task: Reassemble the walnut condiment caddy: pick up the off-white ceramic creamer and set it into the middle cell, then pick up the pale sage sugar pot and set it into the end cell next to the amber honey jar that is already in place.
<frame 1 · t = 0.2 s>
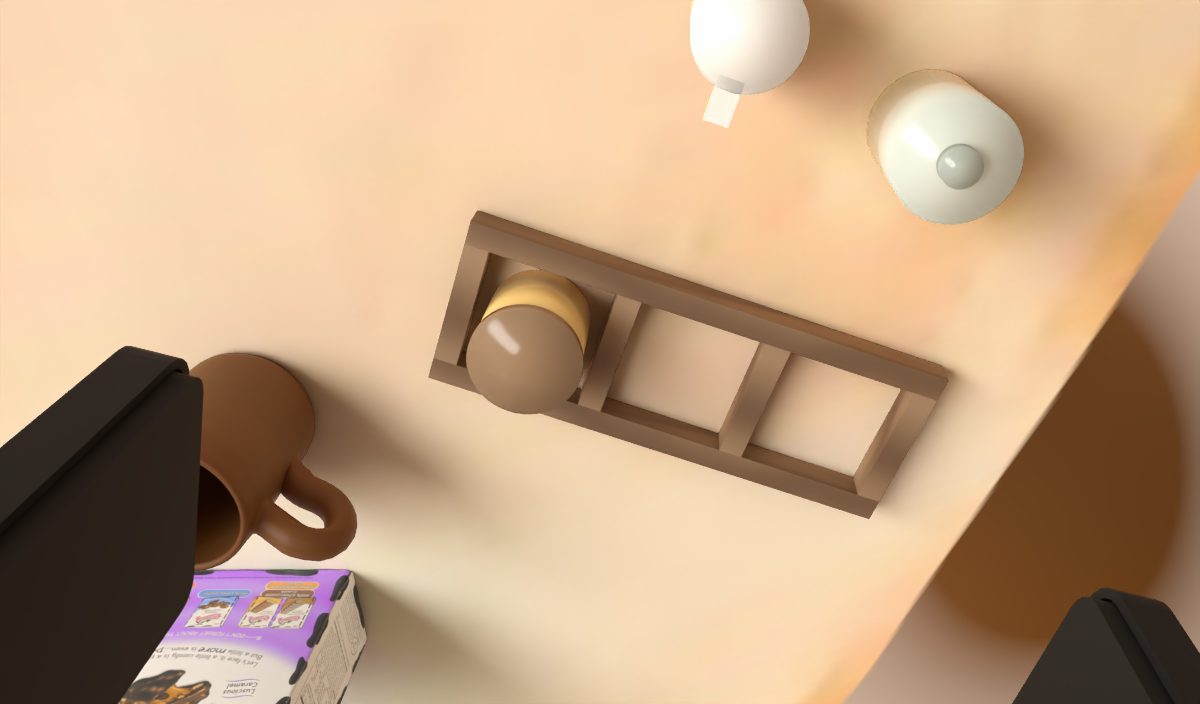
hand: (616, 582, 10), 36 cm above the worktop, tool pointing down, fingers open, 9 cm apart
honey jar: (539, 317, 49), resting in caddy
mug: (291, 420, 53), on the worktop
candy box: (256, 601, 59), on the worktop
sugar pot: (923, 126, 43), on the worktop
caddy: (682, 364, 49), on the worktop
creamer: (741, 11, 41), on the worktop
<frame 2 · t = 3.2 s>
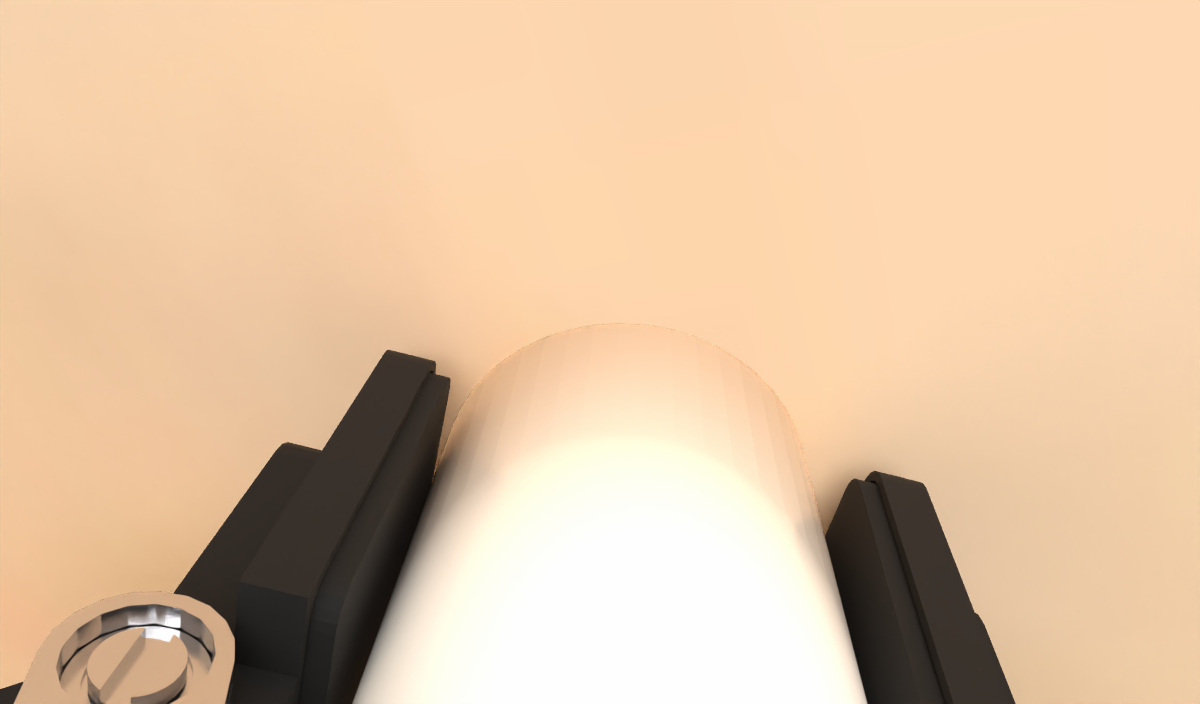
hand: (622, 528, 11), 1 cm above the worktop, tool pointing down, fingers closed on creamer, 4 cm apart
creamer: (623, 486, 12), on the worktop, touching gripper
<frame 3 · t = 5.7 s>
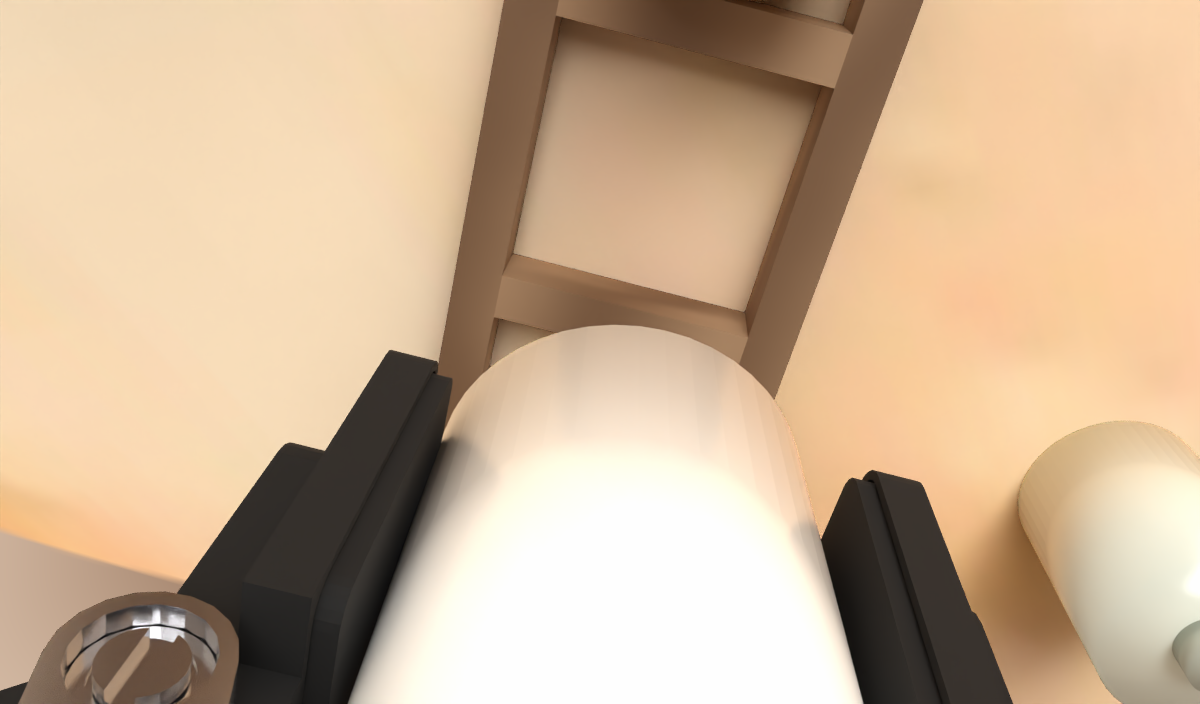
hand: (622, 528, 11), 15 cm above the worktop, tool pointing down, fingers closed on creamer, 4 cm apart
sugar pot: (1108, 495, 28), on the worktop
caddy: (660, 169, 24), on the worktop
creamer: (617, 488, 12), point 14 cm above the worktop, touching gripper
when the fingers open (2 cm above the worktop, at t = 8.3 s): creamer drops 2 cm, resting in caddy.
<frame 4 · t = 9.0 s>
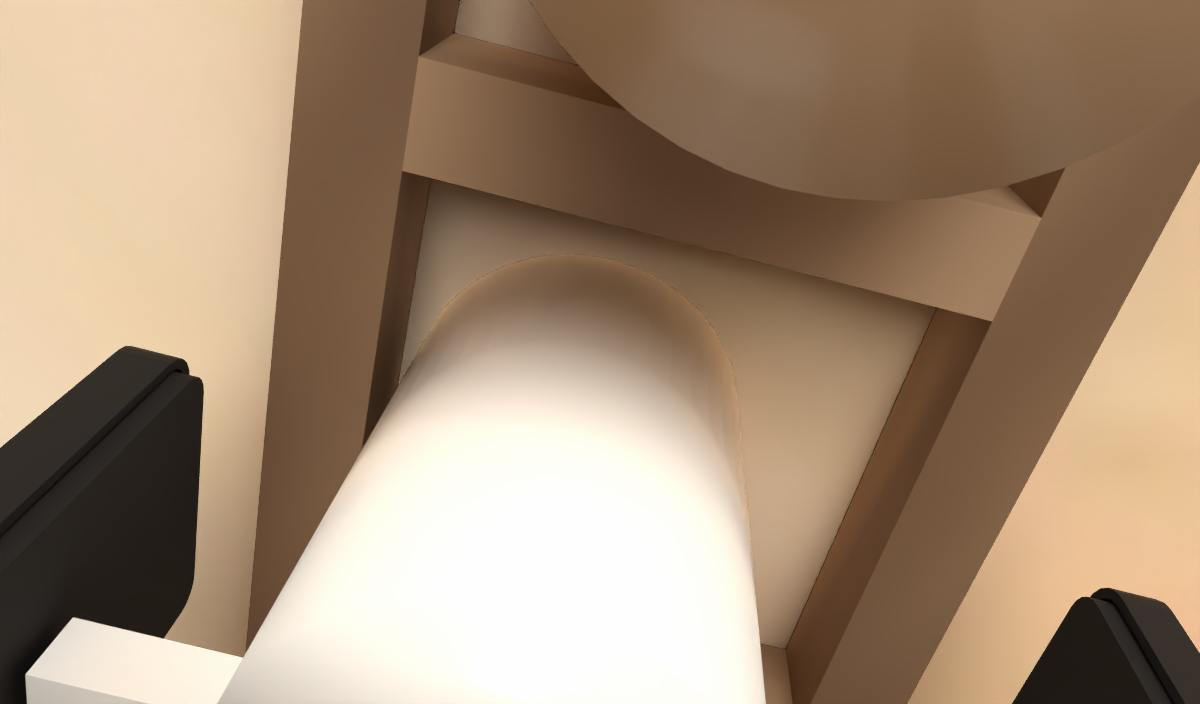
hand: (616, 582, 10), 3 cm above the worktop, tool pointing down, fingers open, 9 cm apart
caddy: (632, 423, 13), on the worktop
creamer: (574, 405, 13), resting in caddy
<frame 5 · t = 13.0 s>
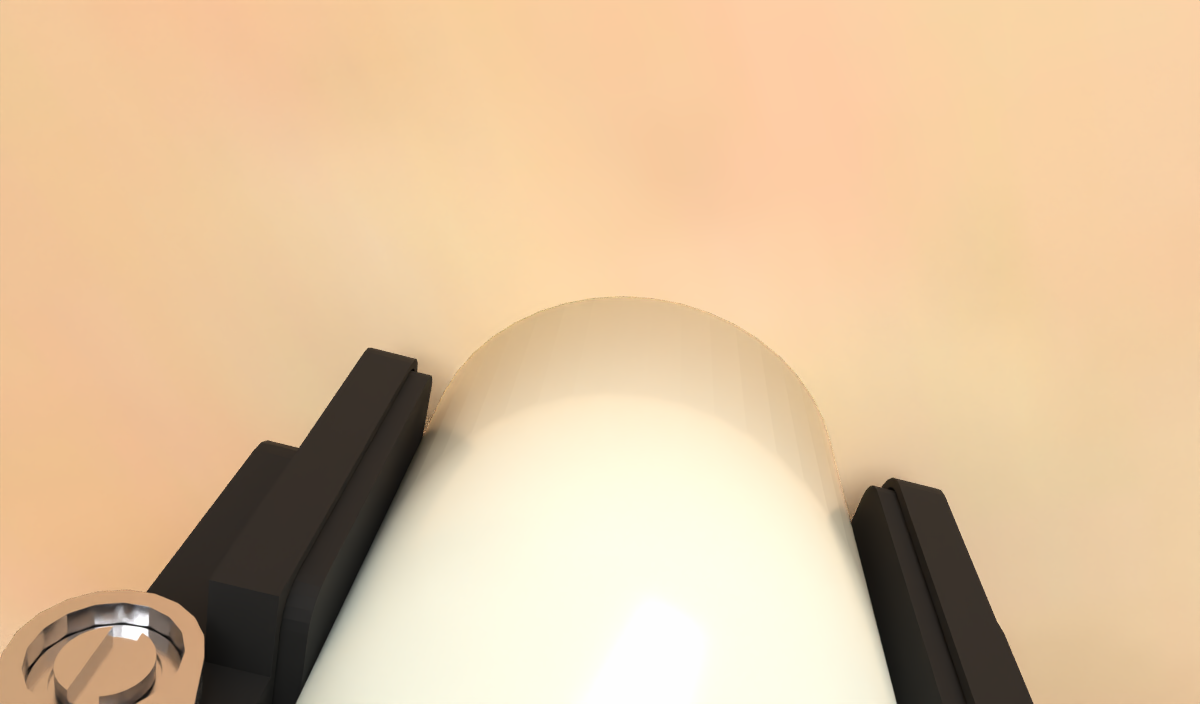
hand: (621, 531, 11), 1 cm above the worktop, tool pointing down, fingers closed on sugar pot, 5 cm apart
sugar pot: (626, 483, 12), on the worktop, touching gripper
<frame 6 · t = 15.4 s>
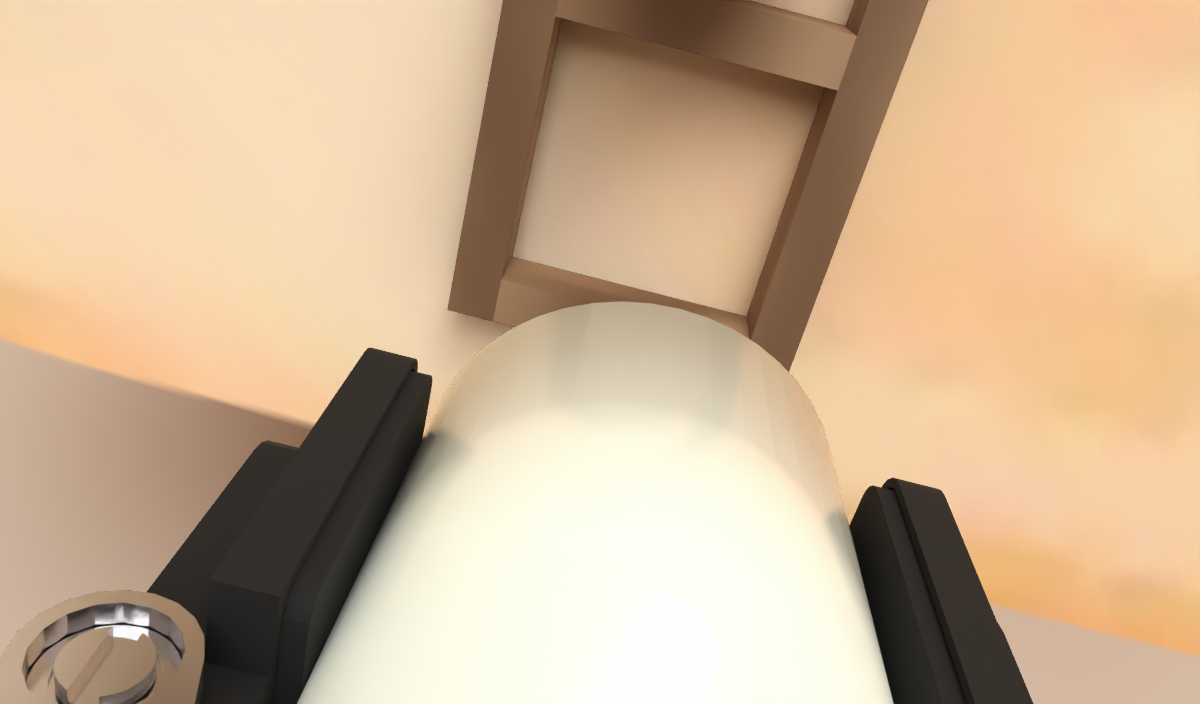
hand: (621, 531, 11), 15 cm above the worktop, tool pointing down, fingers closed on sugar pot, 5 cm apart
sugar pot: (625, 488, 12), point 14 cm above the worktop, touching gripper
when the fingers open (2 cm above the worktop, at t = 17.9 s): sugar pot drops 1 cm, resting in caddy.
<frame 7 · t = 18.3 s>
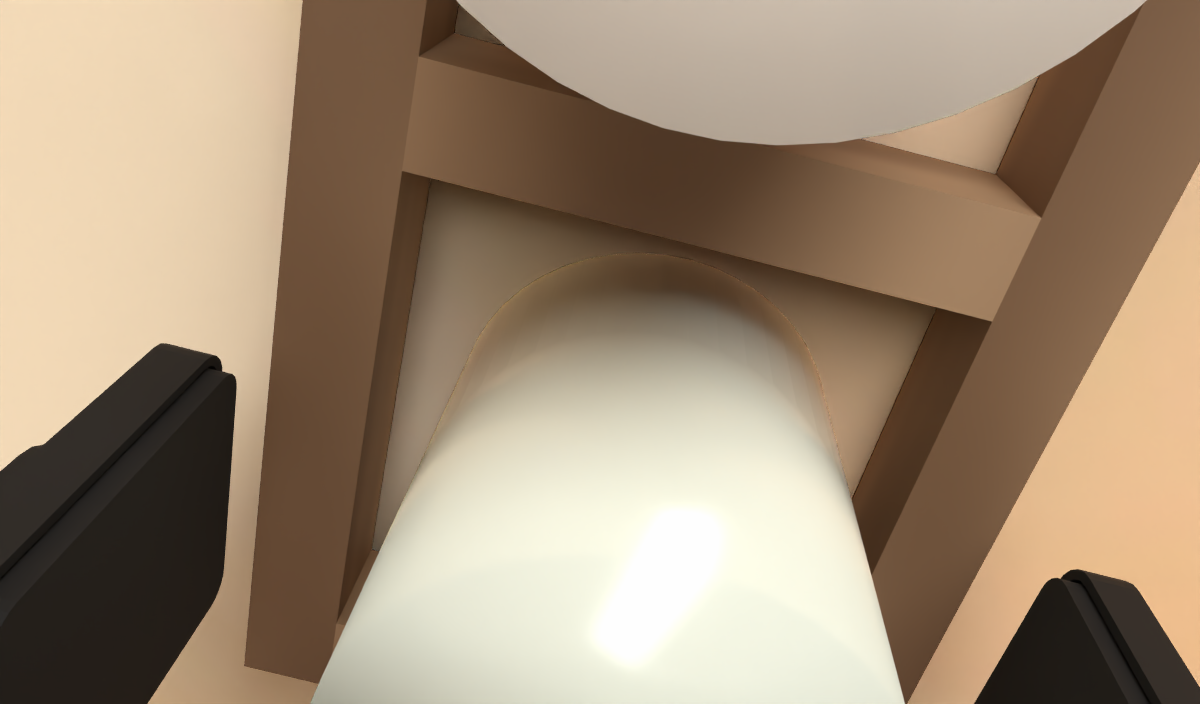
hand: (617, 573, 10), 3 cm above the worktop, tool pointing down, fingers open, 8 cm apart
sugar pot: (639, 424, 13), resting in caddy
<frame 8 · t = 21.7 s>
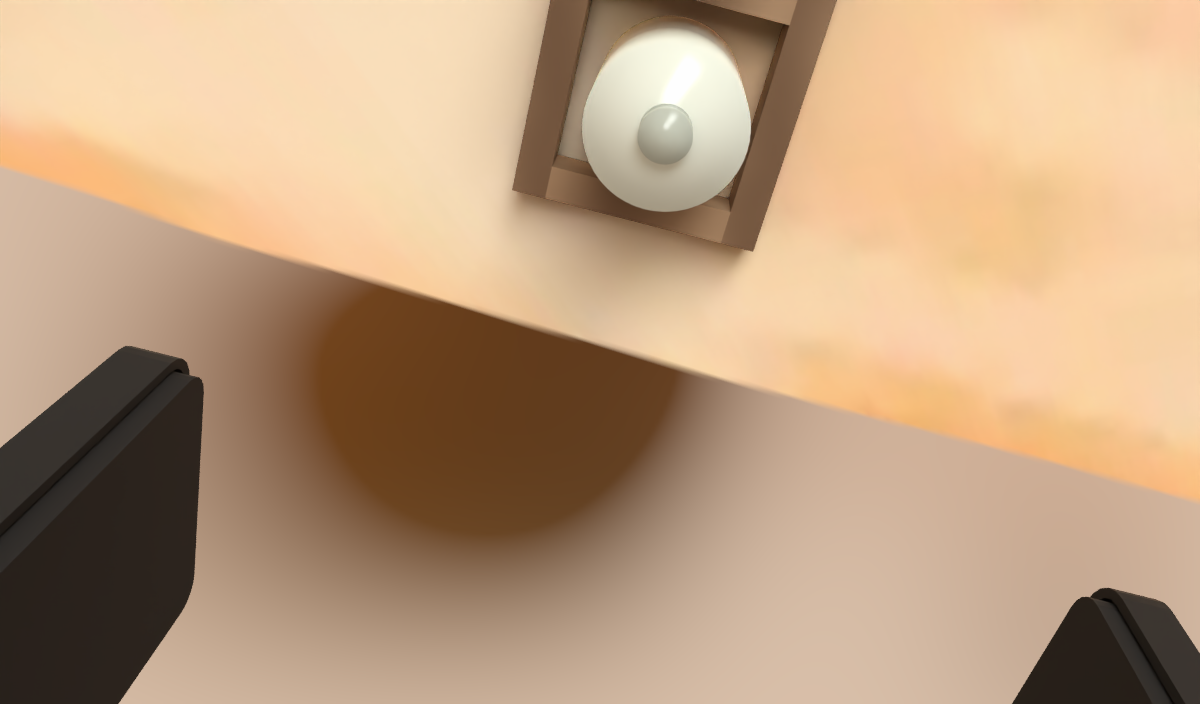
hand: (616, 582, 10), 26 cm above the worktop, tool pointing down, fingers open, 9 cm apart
sugar pot: (669, 90, 34), resting in caddy
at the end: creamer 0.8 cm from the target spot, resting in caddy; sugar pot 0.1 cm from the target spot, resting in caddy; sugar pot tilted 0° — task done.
